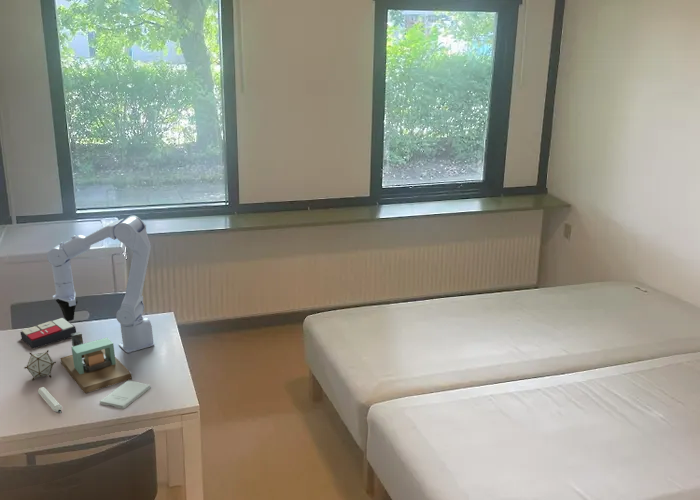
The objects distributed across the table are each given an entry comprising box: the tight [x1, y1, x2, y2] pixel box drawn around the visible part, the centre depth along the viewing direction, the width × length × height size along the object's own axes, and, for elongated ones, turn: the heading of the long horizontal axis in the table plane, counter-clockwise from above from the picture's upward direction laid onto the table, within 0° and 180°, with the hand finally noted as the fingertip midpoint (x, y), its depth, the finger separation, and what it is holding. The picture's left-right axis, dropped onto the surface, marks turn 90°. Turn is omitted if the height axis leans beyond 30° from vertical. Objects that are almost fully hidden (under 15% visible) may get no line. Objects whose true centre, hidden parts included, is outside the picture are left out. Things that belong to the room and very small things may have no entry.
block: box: [84, 350, 104, 366], centre depth 208 cm, size 4×4×4 cm
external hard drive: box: [99, 380, 151, 409], centre depth 195 cm, size 2×8×12 cm
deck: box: [60, 349, 133, 394], centre depth 209 cm, size 14×24×2 cm, turn 38°
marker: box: [37, 386, 63, 414], centre depth 191 cm, size 3×2×16 cm
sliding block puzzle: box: [19, 317, 77, 349], centre depth 233 cm, size 11×4×15 cm
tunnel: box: [71, 337, 116, 374], centre depth 208 cm, size 11×6×7 cm, turn 128°
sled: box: [70, 331, 111, 372], centre depth 214 cm, size 7×22×4 cm, turn 38°
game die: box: [23, 349, 57, 381], centre depth 205 cm, size 9×8×10 cm
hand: (69, 319), depth 224 cm, fingers closed
